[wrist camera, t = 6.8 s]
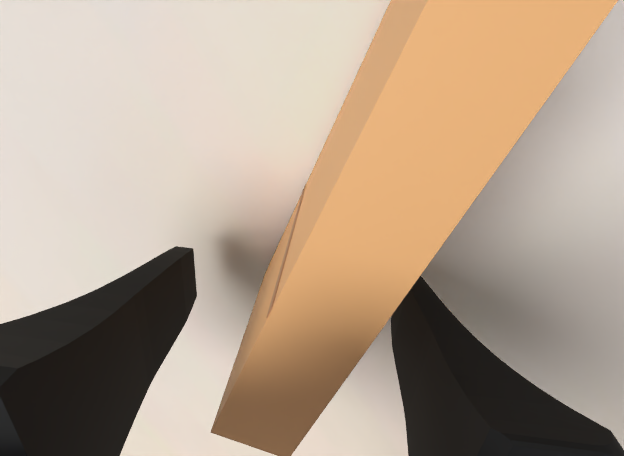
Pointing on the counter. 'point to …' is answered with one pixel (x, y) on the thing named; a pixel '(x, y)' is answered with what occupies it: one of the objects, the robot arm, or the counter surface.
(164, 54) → the counter surface
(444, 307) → the robot arm
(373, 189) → the orange rectangular block
